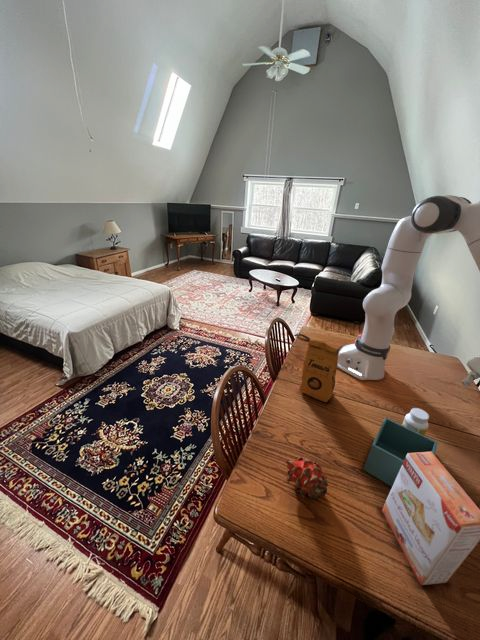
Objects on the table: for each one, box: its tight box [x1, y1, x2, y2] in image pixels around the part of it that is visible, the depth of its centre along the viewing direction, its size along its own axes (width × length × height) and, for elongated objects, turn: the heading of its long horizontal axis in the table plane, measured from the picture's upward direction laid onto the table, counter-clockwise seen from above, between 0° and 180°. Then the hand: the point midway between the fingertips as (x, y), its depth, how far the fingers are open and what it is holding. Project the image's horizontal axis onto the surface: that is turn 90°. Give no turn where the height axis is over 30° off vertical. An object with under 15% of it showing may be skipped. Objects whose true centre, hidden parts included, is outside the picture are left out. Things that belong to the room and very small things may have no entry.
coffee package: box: [298, 338, 339, 403], centre depth 98 cm, size 10×12×22 cm
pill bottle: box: [401, 407, 430, 436], centre depth 82 cm, size 6×6×11 cm
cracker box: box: [381, 452, 480, 586], centre depth 54 cm, size 14×6×21 cm, turn 5°
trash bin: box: [362, 417, 439, 488], centre depth 73 cm, size 13×13×10 cm
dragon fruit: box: [285, 456, 329, 501], centre depth 68 cm, size 8×8×12 cm
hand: (474, 394), depth 76 cm, fingers open, 8 cm apart
